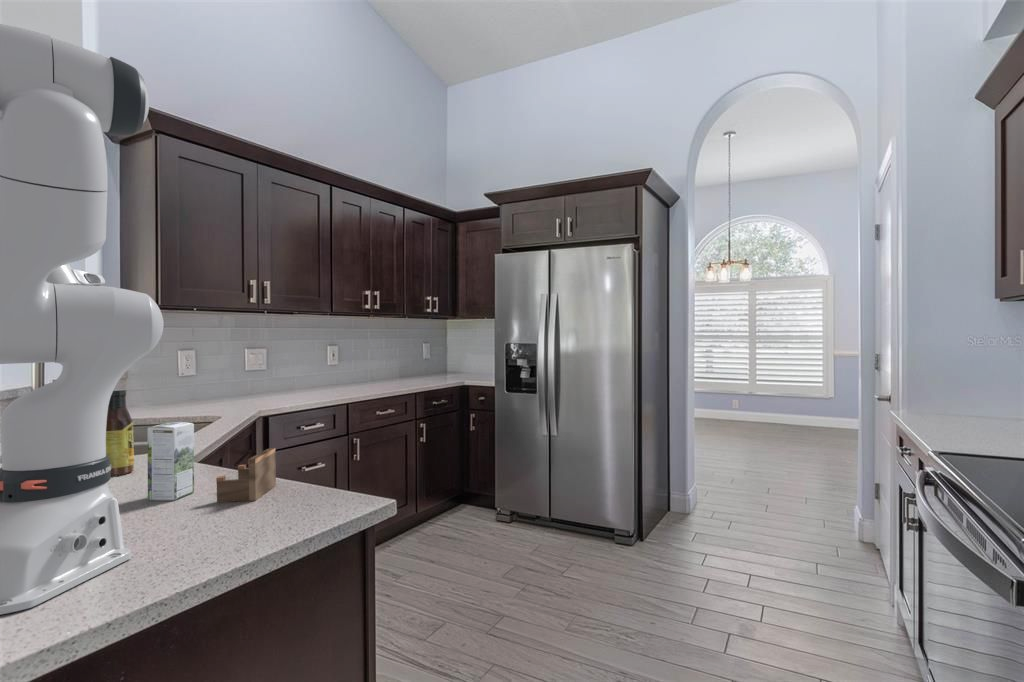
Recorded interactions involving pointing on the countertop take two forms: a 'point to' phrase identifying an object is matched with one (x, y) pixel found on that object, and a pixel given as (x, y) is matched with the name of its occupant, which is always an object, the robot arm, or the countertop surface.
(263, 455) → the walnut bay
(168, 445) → the syrup box
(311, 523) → the countertop surface
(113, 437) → the sauce bottle
